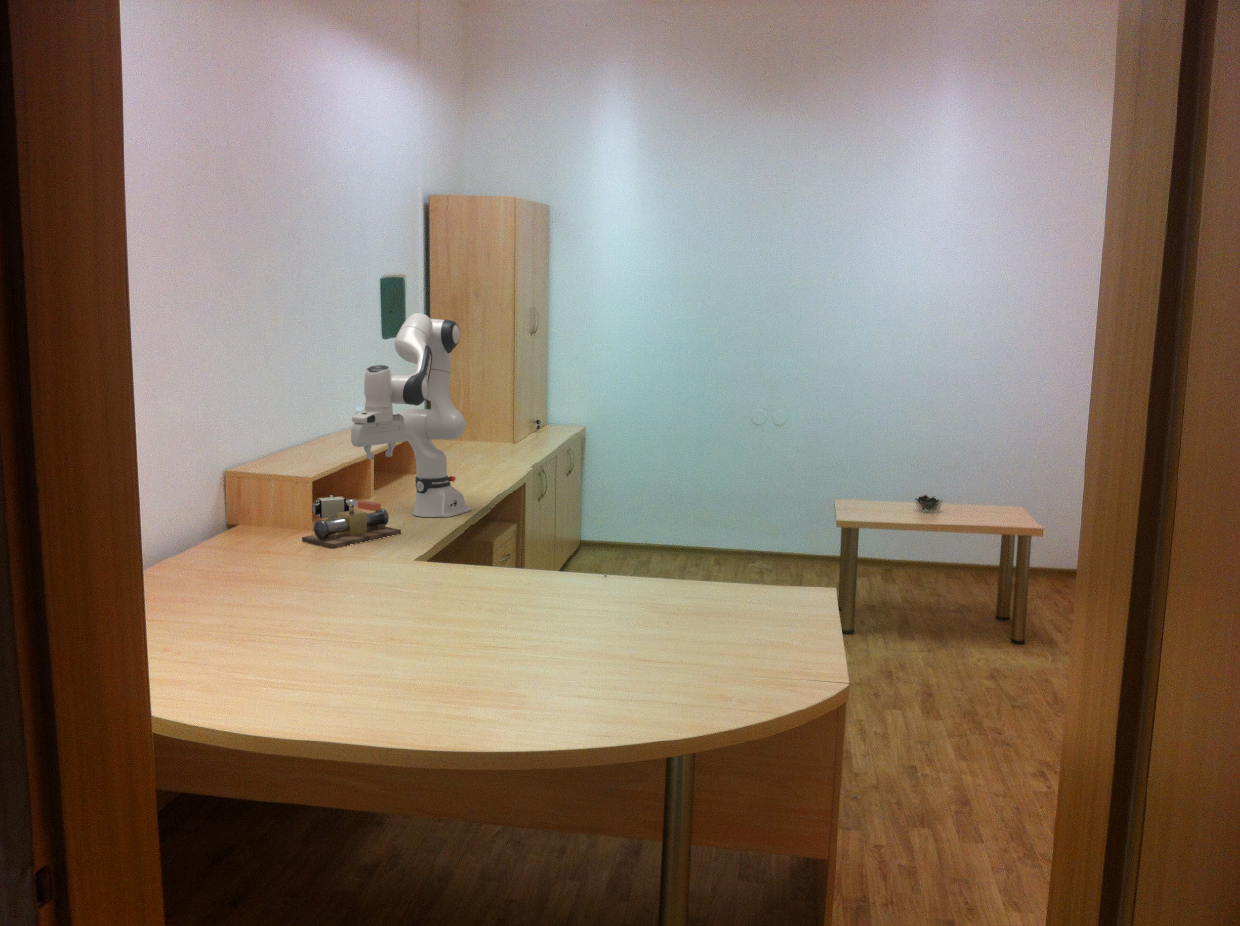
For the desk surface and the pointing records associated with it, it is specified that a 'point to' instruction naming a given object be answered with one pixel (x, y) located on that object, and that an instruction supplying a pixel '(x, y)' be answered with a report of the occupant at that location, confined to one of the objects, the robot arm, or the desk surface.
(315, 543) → the dark brown base board
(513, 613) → the desk surface
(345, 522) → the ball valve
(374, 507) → the valve lever
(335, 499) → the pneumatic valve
